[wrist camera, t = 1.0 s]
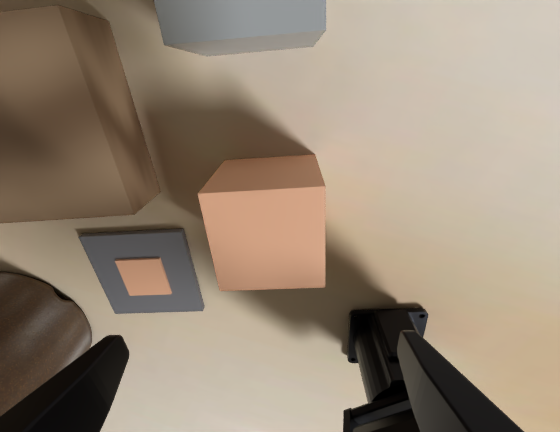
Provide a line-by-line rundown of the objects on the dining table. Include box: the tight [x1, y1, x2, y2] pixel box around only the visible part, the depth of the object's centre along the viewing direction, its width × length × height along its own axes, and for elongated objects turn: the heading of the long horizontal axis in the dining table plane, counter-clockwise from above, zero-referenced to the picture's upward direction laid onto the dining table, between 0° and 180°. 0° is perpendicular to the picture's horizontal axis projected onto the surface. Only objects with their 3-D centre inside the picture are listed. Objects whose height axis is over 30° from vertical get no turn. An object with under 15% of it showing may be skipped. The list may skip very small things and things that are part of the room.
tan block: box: [0, 5, 161, 223], centre depth 16 cm, size 10×10×4 cm
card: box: [79, 229, 204, 314], centre depth 22 cm, size 8×8×1 cm
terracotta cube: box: [198, 154, 325, 291], centre depth 17 cm, size 6×6×6 cm
